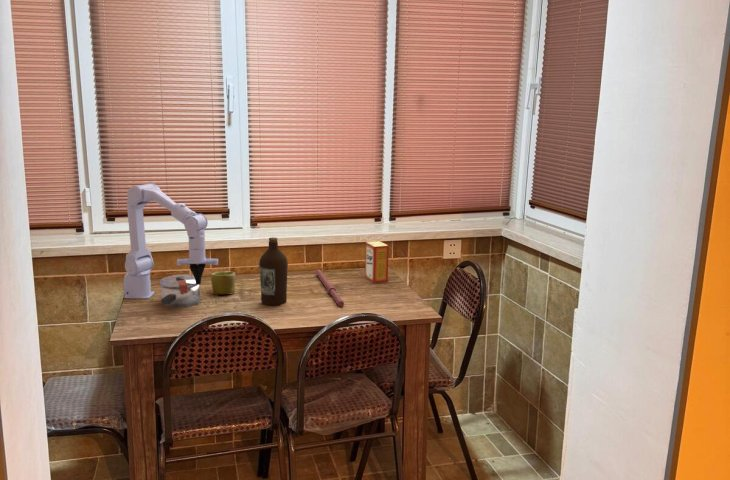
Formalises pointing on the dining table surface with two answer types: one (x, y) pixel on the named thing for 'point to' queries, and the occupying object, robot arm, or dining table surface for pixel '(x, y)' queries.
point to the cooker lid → (179, 282)
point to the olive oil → (273, 275)
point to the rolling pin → (330, 288)
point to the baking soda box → (376, 261)
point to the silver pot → (180, 296)
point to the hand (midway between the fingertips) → (198, 283)
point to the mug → (223, 282)
